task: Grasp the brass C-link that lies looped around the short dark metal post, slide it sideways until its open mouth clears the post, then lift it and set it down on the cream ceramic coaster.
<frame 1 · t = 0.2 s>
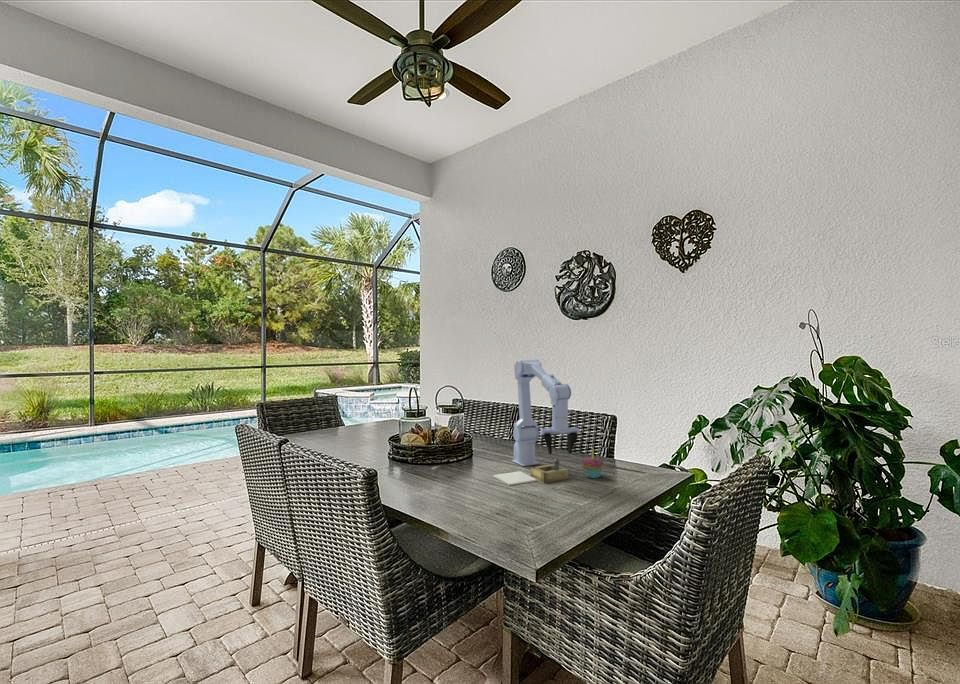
hand: (559, 453, 171), 10 cm above the table, tool pointing down, fingers open, 7 cm apart
post: (556, 476, 176), on the table
cupcake: (592, 476, 176), on the table
c link: (549, 477, 174), on the table
coaster: (514, 478, 173), on the table
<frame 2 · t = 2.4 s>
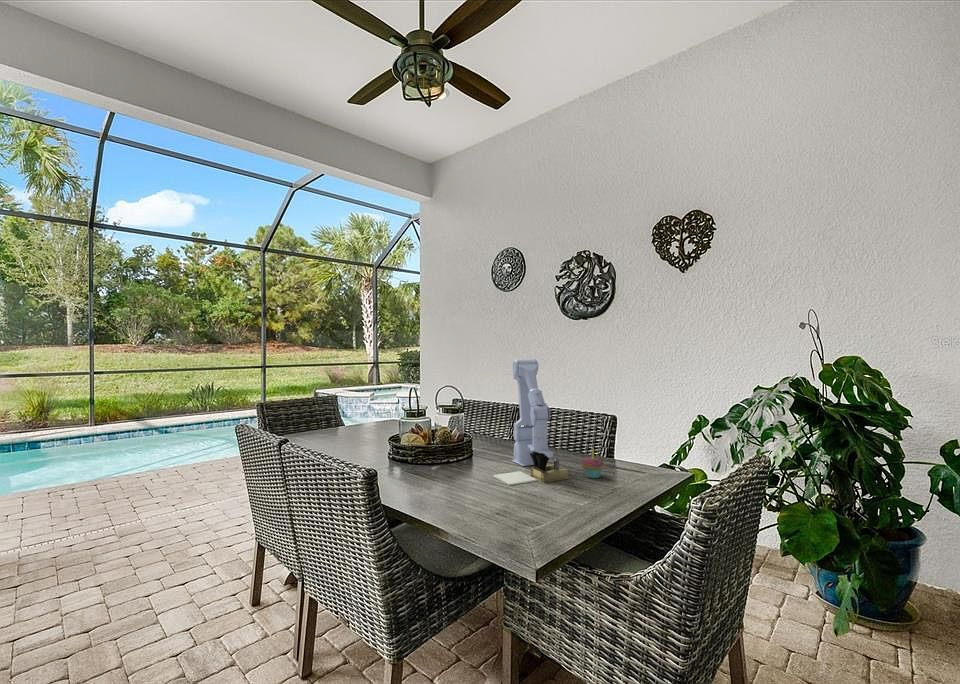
hand: (540, 472, 177), 1 cm above the table, tool pointing down, fingers closed on c link, 2 cm apart
c link: (549, 477, 174), on the table, touching gripper
everything else where it was.
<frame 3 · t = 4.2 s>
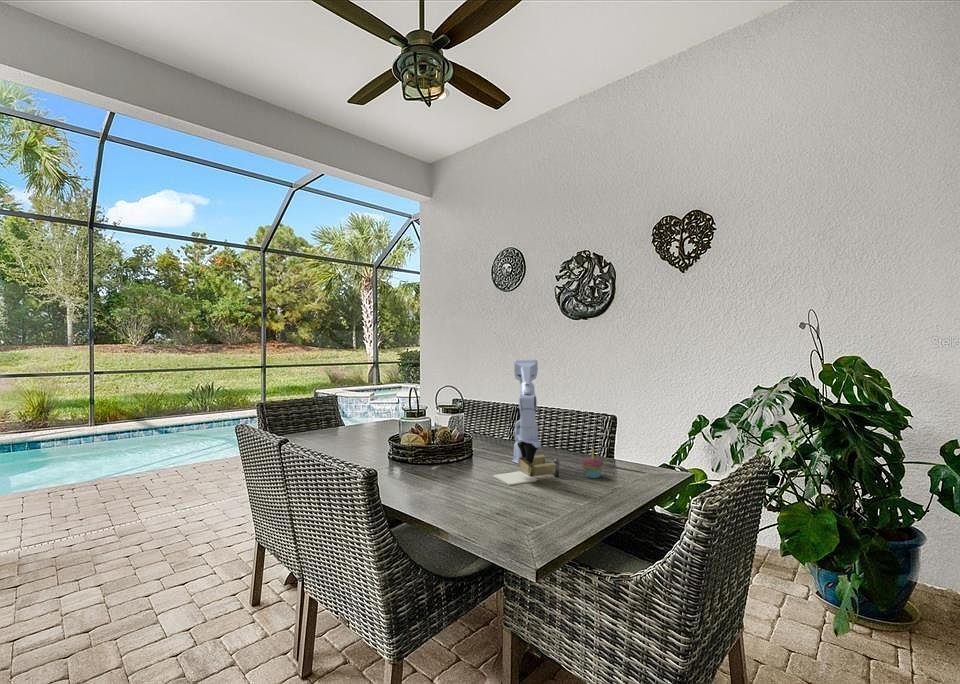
hand: (527, 462, 174), 6 cm above the table, tool pointing down, fingers closed on c link, 2 cm apart
c link: (536, 469, 172), point 4 cm above the table, tilted 11°, touching gripper
everything else where it was.
when the fingers open (3 cm above the table, at t = 6.2 s): c link stays where it is, resting on coaster.
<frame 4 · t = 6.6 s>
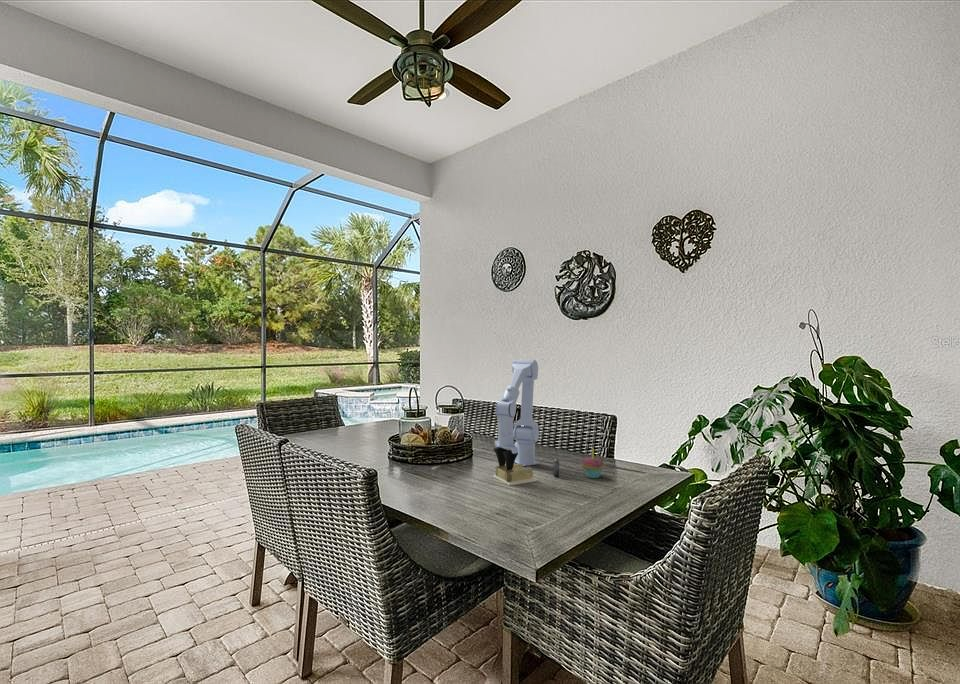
hand: (505, 468, 175), 3 cm above the table, tool pointing down, fingers open, 5 cm apart
c link: (514, 476, 173), point 1 cm above the table, touching coaster
everything else where it was.
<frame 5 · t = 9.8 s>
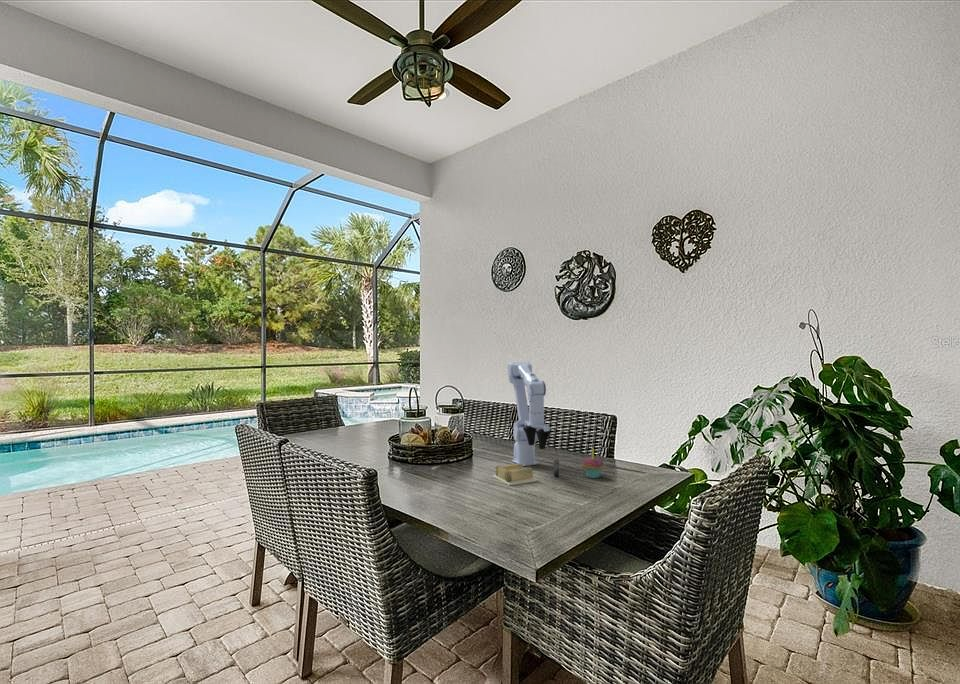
hand: (536, 446, 180), 10 cm above the table, tool pointing down, fingers open, 7 cm apart
nothing on the table moved.
at the end: c link inside the target area on the coaster (0.4 cm from its centre), point 0.6 cm above the coaster's base; c link tilted 0°; the gripper is holding nothing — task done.
